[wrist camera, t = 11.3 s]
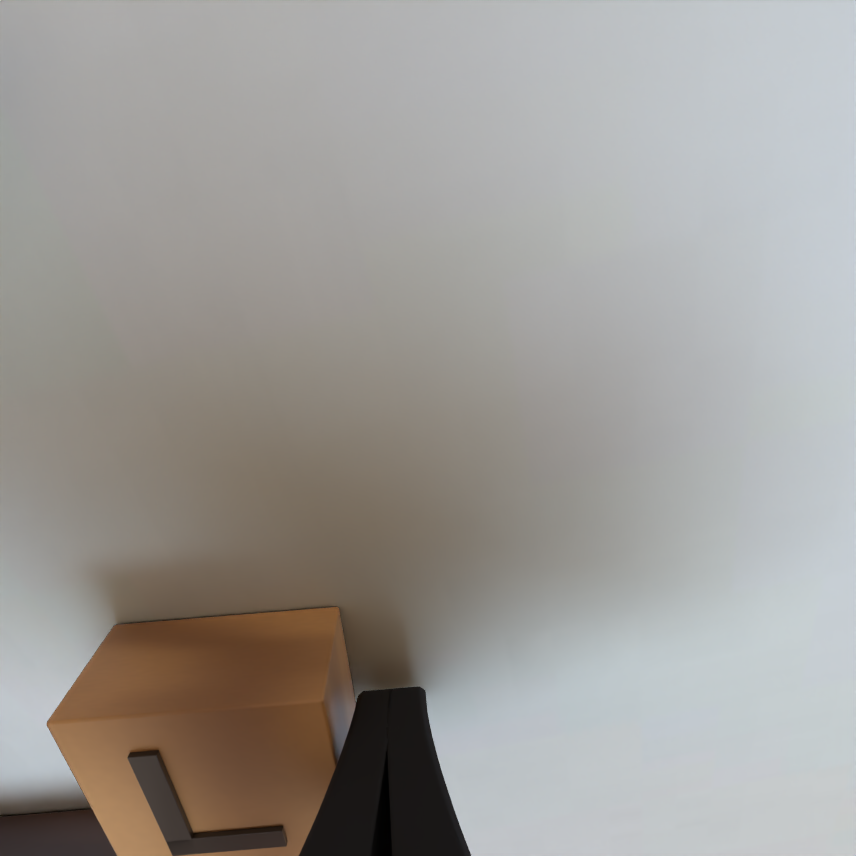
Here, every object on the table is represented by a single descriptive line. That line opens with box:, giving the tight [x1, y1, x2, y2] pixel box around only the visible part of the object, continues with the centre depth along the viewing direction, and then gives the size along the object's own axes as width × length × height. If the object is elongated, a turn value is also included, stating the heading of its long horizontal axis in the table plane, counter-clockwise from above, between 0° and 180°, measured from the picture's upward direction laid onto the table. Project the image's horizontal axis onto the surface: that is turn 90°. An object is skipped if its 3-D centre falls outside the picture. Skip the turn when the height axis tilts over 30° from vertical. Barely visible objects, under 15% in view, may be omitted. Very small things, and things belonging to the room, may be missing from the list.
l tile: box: [47, 607, 356, 856], centre depth 10 cm, size 5×5×2 cm
